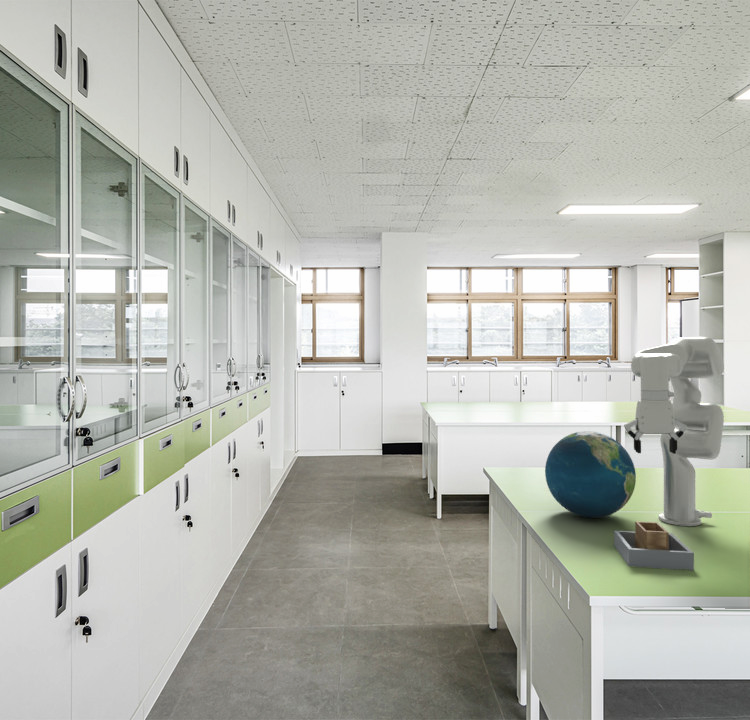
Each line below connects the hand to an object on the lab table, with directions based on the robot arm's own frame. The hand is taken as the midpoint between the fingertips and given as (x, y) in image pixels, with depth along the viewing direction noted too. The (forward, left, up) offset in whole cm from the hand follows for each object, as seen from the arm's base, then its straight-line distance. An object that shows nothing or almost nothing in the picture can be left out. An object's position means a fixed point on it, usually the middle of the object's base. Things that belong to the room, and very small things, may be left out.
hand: (655, 452), depth 163 cm
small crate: (+5, +13, -27) cm, 30 cm away
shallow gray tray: (+5, +13, -28) cm, 31 cm away
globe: (+14, -25, -28) cm, 40 cm away
